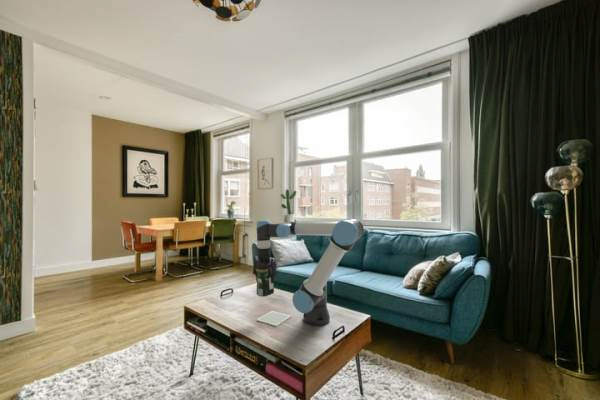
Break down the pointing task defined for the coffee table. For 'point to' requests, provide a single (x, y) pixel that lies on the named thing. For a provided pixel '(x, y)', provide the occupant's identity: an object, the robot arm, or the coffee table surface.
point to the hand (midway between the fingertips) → (265, 287)
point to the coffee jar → (263, 279)
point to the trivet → (274, 318)
